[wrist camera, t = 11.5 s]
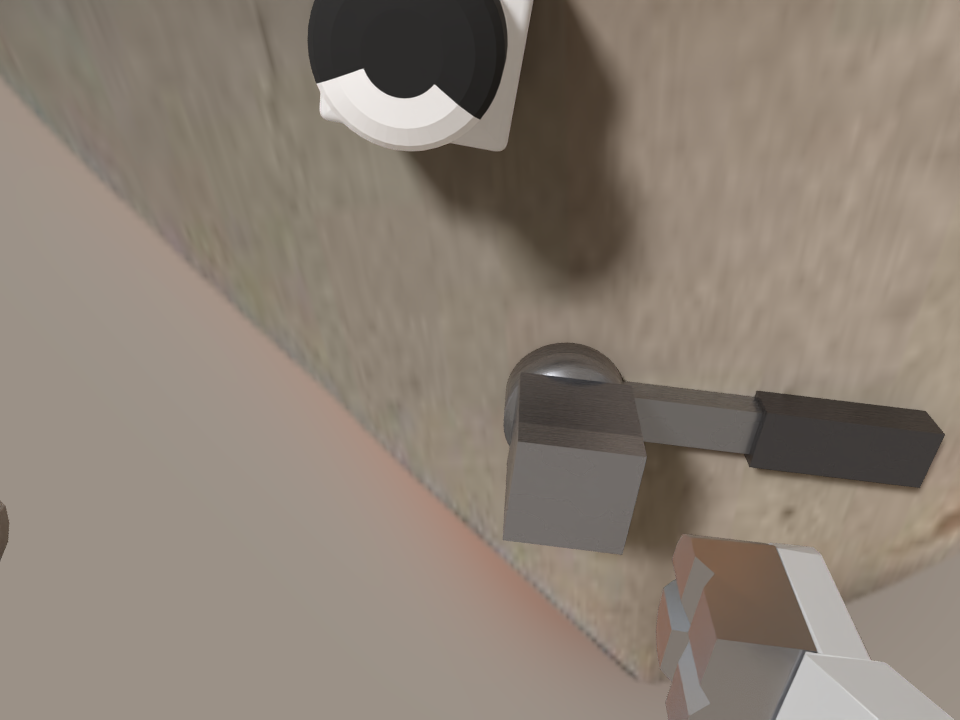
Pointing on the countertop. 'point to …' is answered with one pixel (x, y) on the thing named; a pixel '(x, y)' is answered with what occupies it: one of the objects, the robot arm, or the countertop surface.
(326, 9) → the medicine bottle
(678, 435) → the ratchet
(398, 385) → the countertop surface
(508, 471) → the grey metal cube
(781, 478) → the countertop surface
